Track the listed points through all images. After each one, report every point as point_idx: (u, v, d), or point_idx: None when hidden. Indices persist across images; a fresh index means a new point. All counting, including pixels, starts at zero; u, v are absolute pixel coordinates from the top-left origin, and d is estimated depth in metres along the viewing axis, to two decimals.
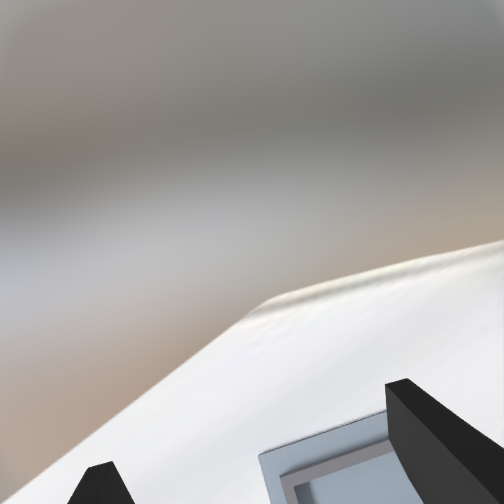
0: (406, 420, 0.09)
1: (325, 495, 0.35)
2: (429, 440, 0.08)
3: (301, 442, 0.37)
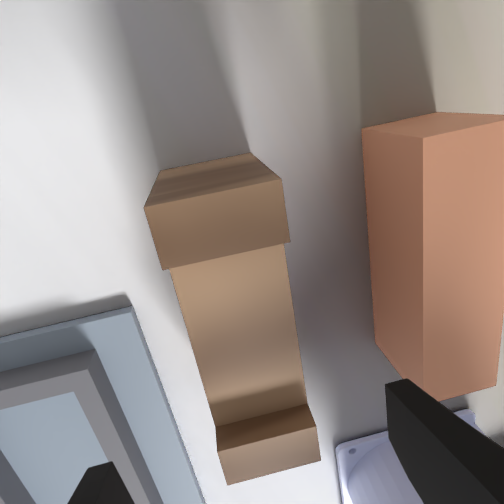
0: (406, 420, 0.09)
1: None
2: (429, 440, 0.08)
3: None
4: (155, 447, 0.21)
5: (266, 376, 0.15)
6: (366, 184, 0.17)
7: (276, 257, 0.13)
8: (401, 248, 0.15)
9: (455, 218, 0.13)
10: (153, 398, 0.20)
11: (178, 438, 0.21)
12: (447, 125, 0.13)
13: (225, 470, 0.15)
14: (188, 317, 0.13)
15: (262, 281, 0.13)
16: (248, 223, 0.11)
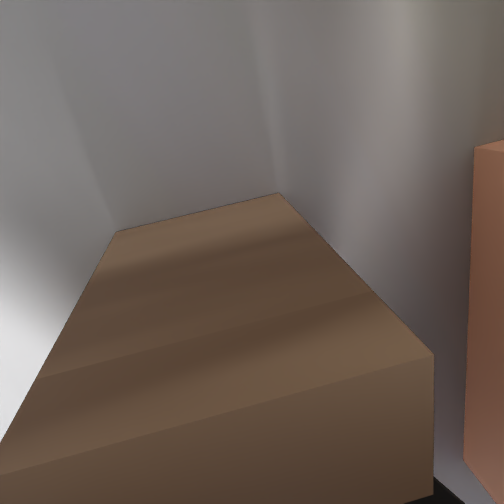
0: None
1: None
2: None
3: None
4: None
5: None
6: (476, 240, 0.10)
7: None
8: None
9: None
10: None
11: None
12: None
13: None
14: None
15: None
16: (324, 472, 0.04)
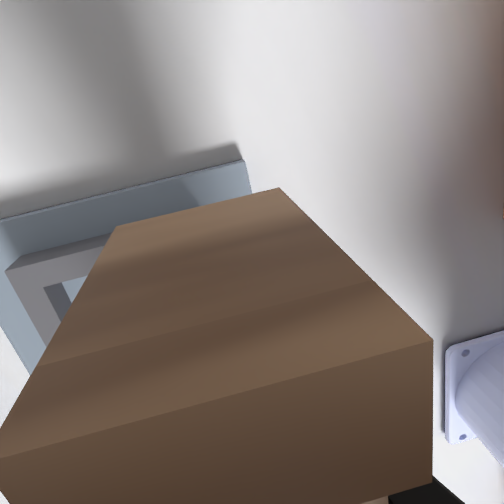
0: None
1: None
2: None
3: None
4: None
5: None
6: None
7: None
8: None
9: None
10: None
11: None
12: None
13: None
14: None
15: None
16: (323, 458, 0.04)
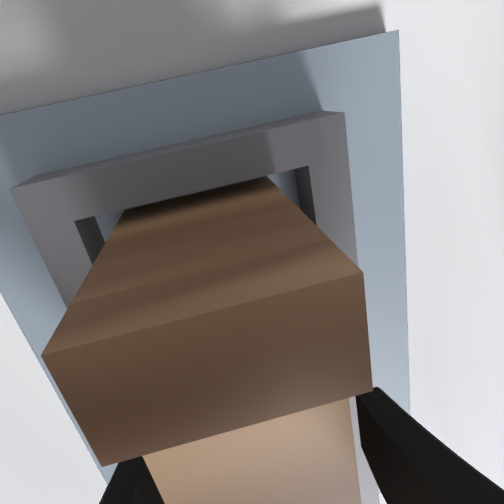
0: (373, 430, 0.09)
1: None
2: (393, 451, 0.08)
3: None
4: (370, 325, 0.13)
5: None
6: None
7: None
8: None
9: None
10: (390, 228, 0.11)
11: (405, 311, 0.13)
12: None
13: None
14: (169, 493, 0.07)
15: (303, 426, 0.07)
16: (287, 365, 0.05)
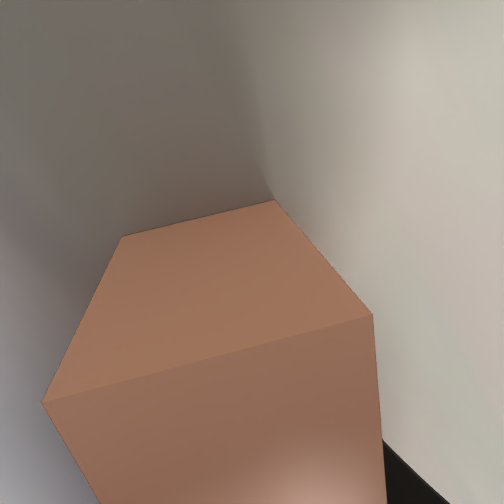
0: None
1: None
2: None
3: None
4: None
5: None
6: None
7: None
8: None
9: None
10: None
11: None
12: (197, 303, 0.05)
13: None
14: None
15: None
16: None
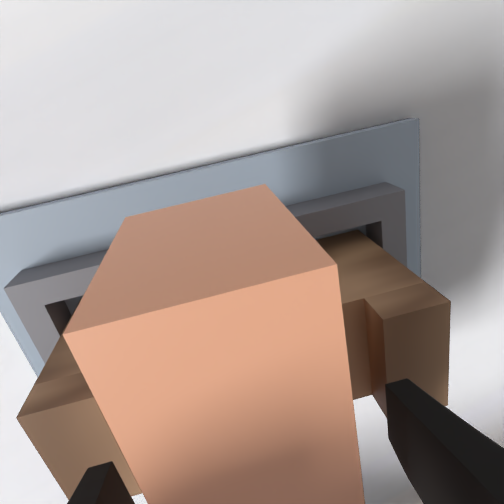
0: (406, 420, 0.09)
1: None
2: (429, 440, 0.08)
3: (78, 201, 0.14)
4: None
5: None
6: None
7: None
8: None
9: (217, 469, 0.06)
10: None
11: None
12: (192, 263, 0.06)
13: (52, 411, 0.10)
14: None
15: None
16: None
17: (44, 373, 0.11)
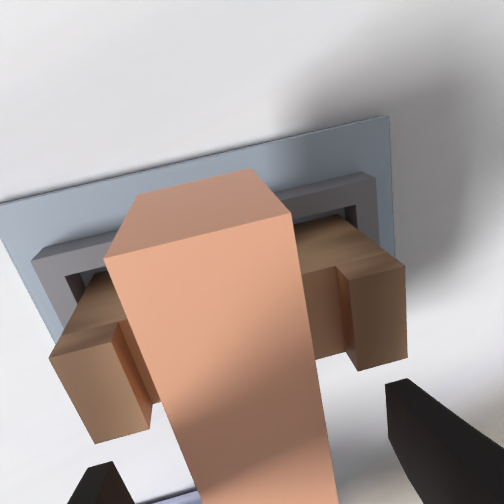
0: (406, 420, 0.09)
1: None
2: (429, 440, 0.08)
3: (93, 187, 0.16)
4: None
5: None
6: None
7: (322, 351, 0.15)
8: None
9: (209, 369, 0.08)
10: None
11: None
12: (191, 218, 0.08)
13: (77, 353, 0.12)
14: None
15: None
16: (378, 340, 0.14)
17: (68, 328, 0.13)
